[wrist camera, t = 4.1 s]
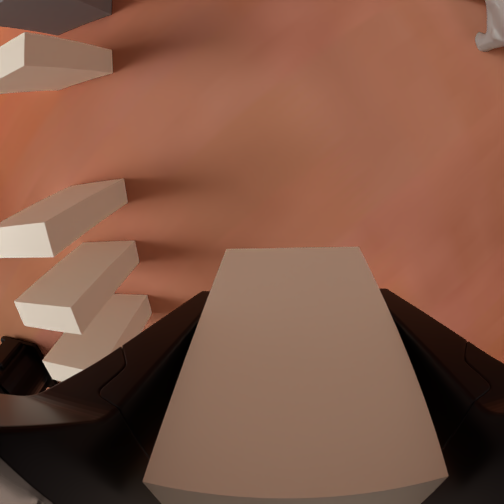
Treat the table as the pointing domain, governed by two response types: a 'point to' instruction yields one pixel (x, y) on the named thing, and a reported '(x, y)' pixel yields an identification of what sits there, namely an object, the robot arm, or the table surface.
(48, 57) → the domino
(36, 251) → the domino
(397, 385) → the domino
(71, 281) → the domino
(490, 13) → the grey animal figure
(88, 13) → the domino
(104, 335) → the domino
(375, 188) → the table surface
